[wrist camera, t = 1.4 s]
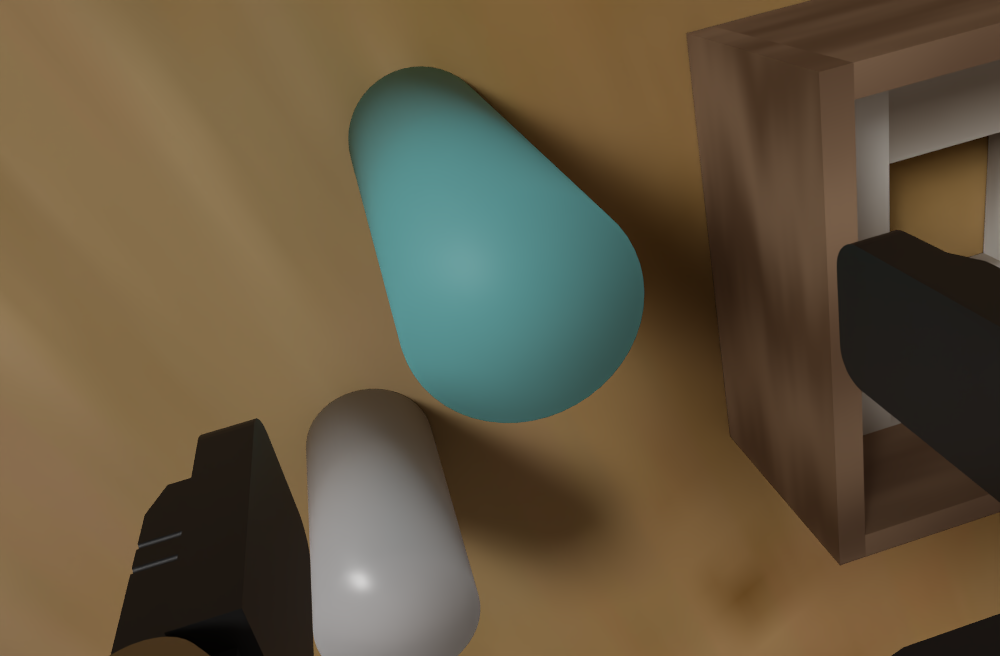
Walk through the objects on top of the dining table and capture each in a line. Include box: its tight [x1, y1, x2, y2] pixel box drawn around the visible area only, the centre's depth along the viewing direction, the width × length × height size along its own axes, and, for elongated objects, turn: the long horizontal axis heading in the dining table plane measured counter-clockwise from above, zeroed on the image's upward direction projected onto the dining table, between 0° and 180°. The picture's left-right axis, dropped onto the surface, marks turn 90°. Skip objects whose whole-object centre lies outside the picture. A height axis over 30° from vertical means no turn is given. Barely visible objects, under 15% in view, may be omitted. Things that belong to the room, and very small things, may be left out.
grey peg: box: [306, 389, 480, 656], centre depth 25 cm, size 4×4×8 cm
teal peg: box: [348, 67, 644, 423], centre depth 19 cm, size 4×4×12 cm
